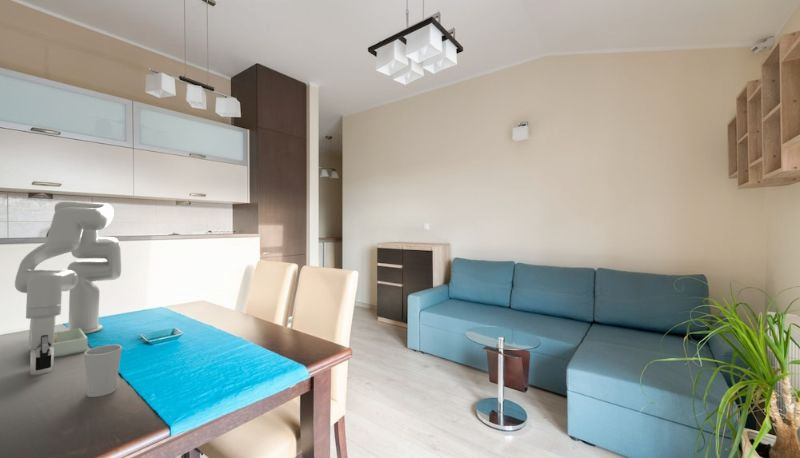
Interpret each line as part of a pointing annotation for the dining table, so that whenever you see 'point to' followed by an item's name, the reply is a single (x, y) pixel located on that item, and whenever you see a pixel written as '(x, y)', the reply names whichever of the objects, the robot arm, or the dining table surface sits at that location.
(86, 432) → the dining table surface
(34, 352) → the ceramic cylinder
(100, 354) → the cup
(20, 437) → the dining table surface
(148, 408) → the dining table surface
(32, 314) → the robot arm
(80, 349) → the tote
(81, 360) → the dining table surface
